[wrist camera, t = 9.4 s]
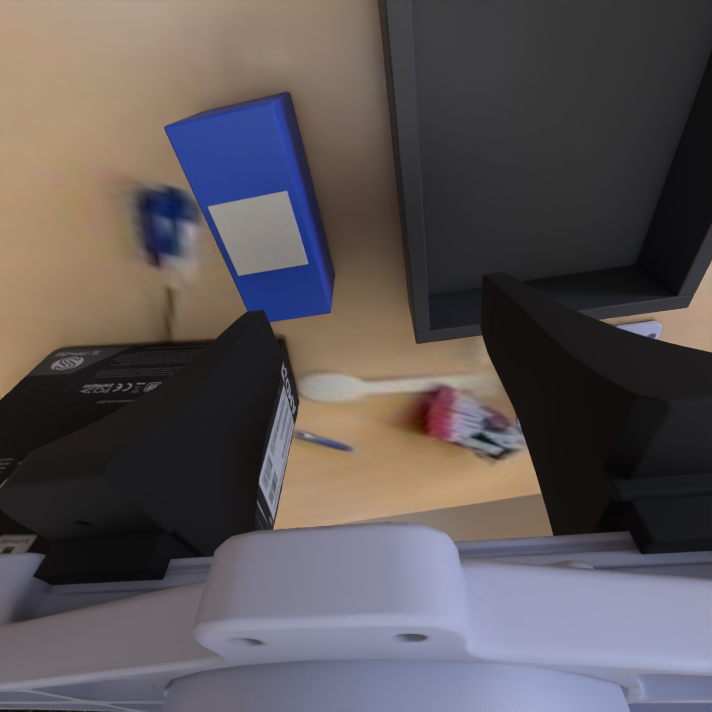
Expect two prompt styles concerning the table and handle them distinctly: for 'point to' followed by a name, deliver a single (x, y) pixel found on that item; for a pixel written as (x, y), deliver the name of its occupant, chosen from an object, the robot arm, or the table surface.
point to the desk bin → (550, 152)
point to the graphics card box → (103, 397)
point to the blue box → (259, 203)
